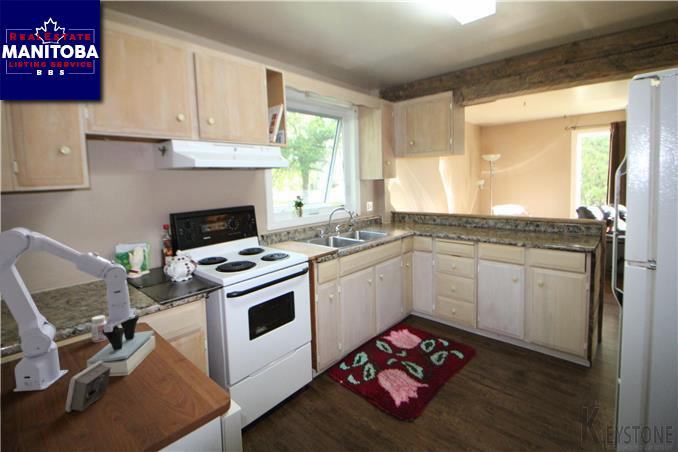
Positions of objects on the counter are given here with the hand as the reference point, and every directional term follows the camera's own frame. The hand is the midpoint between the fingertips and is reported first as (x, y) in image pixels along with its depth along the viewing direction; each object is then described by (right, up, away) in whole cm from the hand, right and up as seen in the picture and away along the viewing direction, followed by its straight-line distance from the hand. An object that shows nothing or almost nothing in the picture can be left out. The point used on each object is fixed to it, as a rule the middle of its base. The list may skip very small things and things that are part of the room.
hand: (124, 344), depth 108 cm
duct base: (0, -5, 0) cm, 5 cm away
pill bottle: (-19, -4, +16) cm, 25 cm away
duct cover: (0, -1, 0) cm, 1 cm away
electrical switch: (+4, -8, -20) cm, 22 cm away
